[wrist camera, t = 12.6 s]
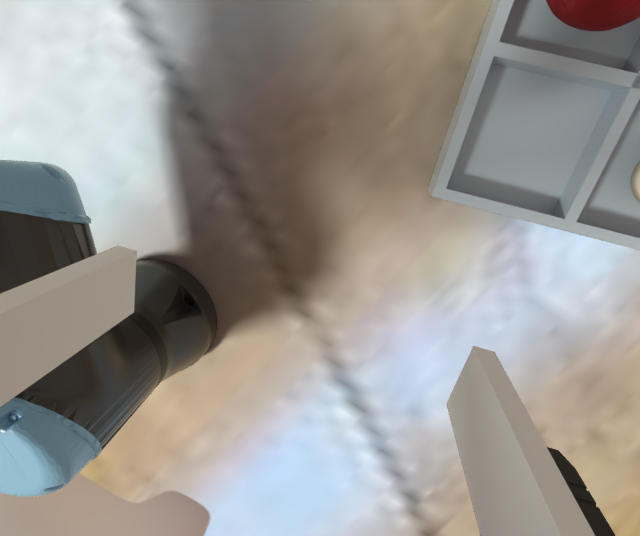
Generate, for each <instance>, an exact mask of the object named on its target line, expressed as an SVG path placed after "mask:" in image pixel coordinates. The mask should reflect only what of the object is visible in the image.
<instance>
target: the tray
mask: <svg viewBox="0 0 640 536" xmlns="http://www.w3.org/2000/svg"><path fill="white" fill-rule="evenodd" d="M639 161H640V17H639V18H637V19H636V20H634V21H632V22H630V23H628V24H625V25H623V26H620V27H617V28H614V29H611V30H607V31H585V30H579V29H576V28H573V27H571V26H568V25H566V24H565V23H563V22H562V21H560V20H559V19H558V18H557V17H556V16H555V15H554V14H553V13H552V11H551V10H550V8H549V6H548V4H547V2H546V0H492V3H491V6H490V9H489V12H488V15H487V18H486V21H485V24H484V26H483V29H482V32H481V35H480V38H479V41H478V44H477V47H476V50H475V53H474V56H473V59H472V61H471V64H470V67H469V70H468V73H467V76H466V79H465V82H464V85H463V88H462V91H461V94H460V96H459V99H458V102H457V105H456V108H455V111H454V114H453V117H452V120H451V123H450V126H449V129H448V131H447V134H446V137H445V140H444V143H443V146H442V149H441V152H440V155H439V158H438V161H437V164H436V166H435V169H434V172H433V175H432V178H431V181H430V184H429V187H428V190H427V192H428V193H429V194H430V195H431V196H432V197H436V198H440V199H444V200H447V201H451V202H455V203H459V204H463V205H467V206H471V207H475V208H478V209H482V210H486V211H490V212H494V213H498V214H502V215H505V216H509V217H513V218H517V219H521V220H525V221H529V222H533V223H536V224H540V225H544V226H548V227H552V228H556V229H560V230H563V231H567V232H571V233H575V234H579V235H583V236H587V237H591V238H594V239H598V240H602V241H606V242H610V243H614V244H618V245H621V246H625V247H629V248H633V249H637V250H640V203H639V202H638V201H637V200H636V198H635V197H634V195H633V193H632V190H631V185H630V181H631V175H632V172H633V170H634V168H635V167H636V165H637V164H638V162H639Z"/></svg>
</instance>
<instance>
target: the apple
mask: <svg viewBox="0 0 640 536" xmlns="http://www.w3.org/2000/svg"><path fill="white" fill-rule="evenodd" d="M546 2H547V4H548V6H549V8H550V10H551V11H552V13H553V14H554V15H555V16H556V17H557V18H558V19H559V20H560V21H562V22H563V23H565V24H566V25H568V26H571V27H573V28H576V29H579V30H585V31H607V30H611V29H614V28H617V27H620V26H623V25H625V24H628V23H630V22H632V21H634V20H636V19H637V18H639V17H640V0H546Z"/></svg>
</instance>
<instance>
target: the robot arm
mask: <svg viewBox="0 0 640 536" xmlns="http://www.w3.org/2000/svg"><path fill="white" fill-rule="evenodd" d="M89 223H91V219H90V218H89V217H88V216H87V215H86V213H85V210H84V207H83V204H82V201H81V198H80V196H79V193H78V190H77V187H76V184H75V182H74V180H73V178H72V177H71V176H70V175H69V174H68V173H67V172H66V171H65V170H63V169H62V168H60V167H58V166H55V165H52V164H48V163H41V162H28V161H12V160H0V493H4V494H9V495H14V496H26V497H33V496H41V495H45V494H49V493H52V492H54V491H56V490H58V489H60V488H62V487H63V486H65V485H66V484H67V483H68V482H70V481H71V480H72V479H73V478H74V477H75V475H77V474H78V473H79V472H80V471H81V470H82V469H83V468H84V467H85V466H86V465H87V464H88V463H89V462H90V461H91V460H93V459H95V458H96V457H97V456H98V455H99V454H100V452H101V451H102V450H103V448H104V447H105V446H106V445H107V444H108V443H109V441H110V440H111V439H112V438H113V437H114V436H115V434H116V433H117V432H118V431H119V430H120V429H121V427H122V426H123V425H124V424H125V423H126V422H127V420H128V419H129V418H130V417H131V416H132V415H133V413H134V412H135V411H136V410H137V409H138V408H139V406H140V405H141V404H142V403H143V402H144V401H145V399H146V398H147V397H148V396H149V395H150V394H151V392H152V391H153V390H154V389H155V388H156V387H157V386H158V385H159V383H160V382H161V381H163V380H165V379H166V378H168V377H170V376H172V375H174V374H175V373H177V372H179V371H182V370H184V369H186V368H188V367H190V366H192V365H193V364H194V363H196V362H197V361H198V360H199V359H200V358H201V357H202V356H203V355H204V353H205V352H206V351H207V350H208V348H209V347H210V346H211V344H212V342H213V340H214V337H215V334H216V327H217V320H216V313H215V309H214V306H213V303H212V301H211V299H210V297H209V295H208V294H207V292H206V291H205V289H204V288H203V287H202V285H201V284H200V283H199V282H198V281H197V280H196V279H195V278H194V277H193V276H192V275H190V274H189V273H188V272H186V271H185V270H183V269H181V268H180V267H178V266H176V265H173V264H171V263H168V262H164V261H160V260H141V261H137V262H136V254H137V251H136V250H132V249H129V248H125V247H122V246H116V247H113V248H111V249H108V250H106V251H104V252H101V253H99V254H97V252H96V248H95V244H94V241H93V237H92V234H91V230H90V226H89ZM447 408H448V412H449V416H450V420H451V424H452V427H453V431H454V435H455V439H456V443H457V447H458V451H459V455H460V458H461V462H462V466H463V470H464V474H465V478H466V482H467V486H468V489H469V493H470V497H471V501H472V505H473V509H474V513H475V516H476V520H477V524H478V528H479V532H480V536H615V534H614V532H613V531H612V529H611V527H610V526H609V524H608V522H607V521H606V519H605V517H604V516H603V514H602V512H601V511H600V509H599V508H598V507H596V502H595V501H594V499H593V497H592V496H591V494H590V492H589V491H587V490H586V488H587V487H586V486H585V484H584V482H583V481H582V479H581V477H580V476H579V474H578V472H577V471H576V469H575V468H574V467H573V466H572V465H571V464H570V462H569V461H568V460H567V459H566V458H565V457H564V456H563V455H562V454H561V453H560V452H559V451H558V450H555V449H552V448H548V447H546V445H545V443H544V441H543V439H542V438H541V436H540V434H539V432H538V430H537V429H536V427H535V425H534V423H533V421H532V419H531V418H530V416H529V414H528V412H527V410H526V408H525V407H524V405H523V403H522V401H521V399H520V398H519V396H518V394H517V392H516V390H515V388H514V387H513V385H512V383H511V381H510V379H509V377H508V376H507V374H506V372H505V370H504V368H503V366H502V365H501V363H500V361H499V359H498V357H497V356H496V354H495V352H493V351H490V350H486V349H482V348H479V347H475V346H473V348H472V350H471V353H470V355H469V357H468V359H467V361H466V363H465V365H464V368H463V370H462V372H461V374H460V376H459V378H458V380H457V383H456V385H455V387H454V389H453V391H452V393H451V395H450V397H449V400H448V402H447Z"/></svg>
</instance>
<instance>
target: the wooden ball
mask: <svg viewBox="0 0 640 536" xmlns="http://www.w3.org/2000/svg"><path fill="white" fill-rule="evenodd" d="M630 185H631V190H632V193H633V195H634V197H635V198H636V200H637V201H638V202H639V203H640V161H639V162H638V164H637V165H636V167H635V168H634V170H633V172H632V175H631V181H630Z"/></svg>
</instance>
